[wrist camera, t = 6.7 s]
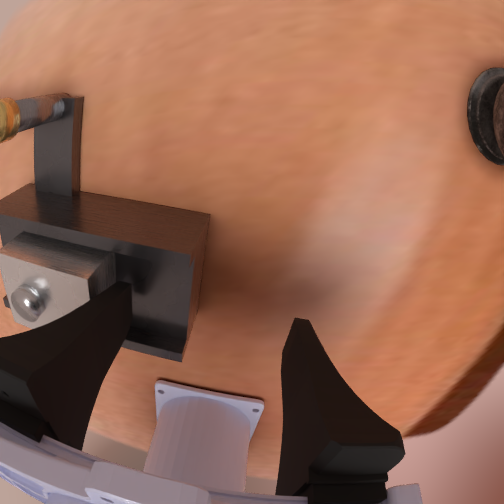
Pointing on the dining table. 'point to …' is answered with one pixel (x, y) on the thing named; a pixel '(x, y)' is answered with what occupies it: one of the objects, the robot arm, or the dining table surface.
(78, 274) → the knobbed drawer block
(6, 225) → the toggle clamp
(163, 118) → the dining table surface
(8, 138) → the lever
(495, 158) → the grey tall flared piece
